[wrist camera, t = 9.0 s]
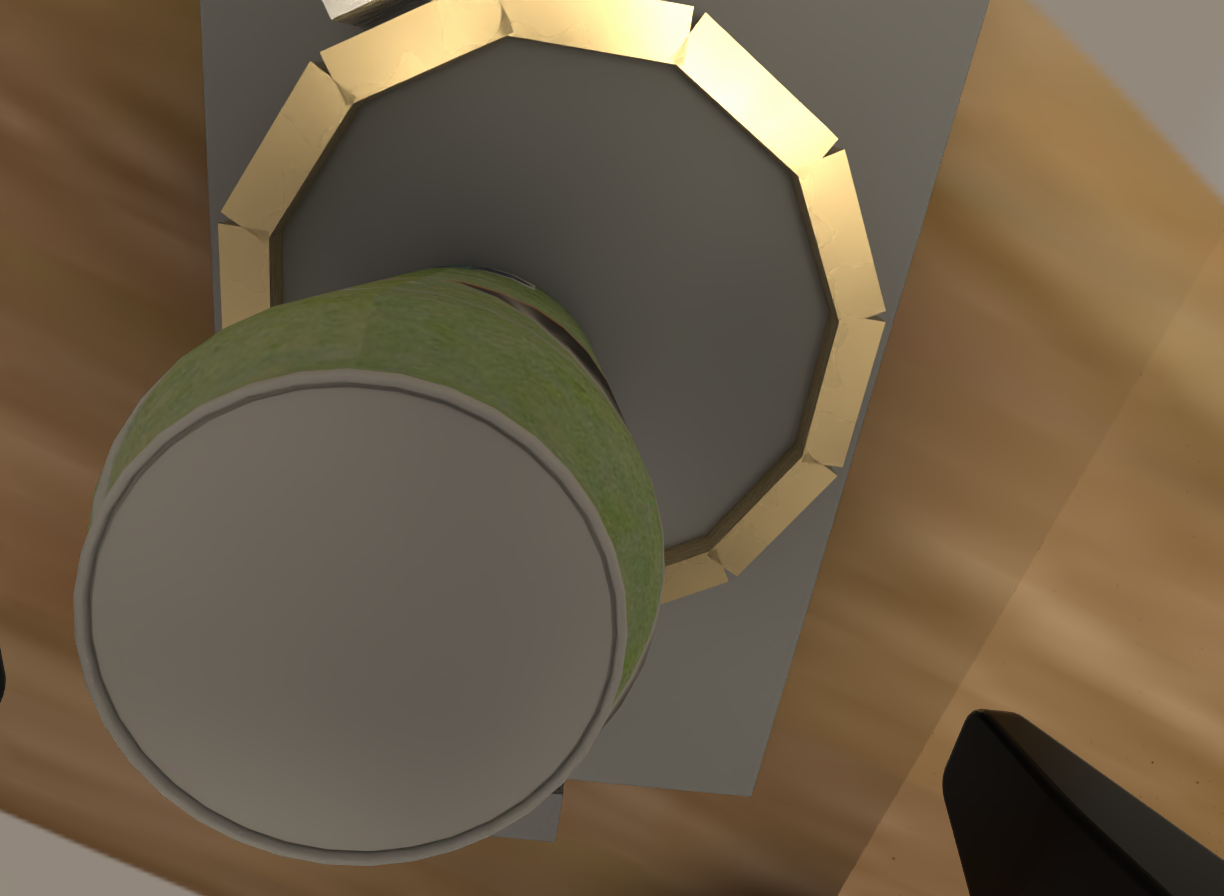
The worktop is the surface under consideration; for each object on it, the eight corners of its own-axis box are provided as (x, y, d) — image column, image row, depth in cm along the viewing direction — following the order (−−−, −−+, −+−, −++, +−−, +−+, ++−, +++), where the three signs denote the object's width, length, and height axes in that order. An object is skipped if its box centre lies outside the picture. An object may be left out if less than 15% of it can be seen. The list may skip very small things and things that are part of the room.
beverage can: (328, 478, 19) (-26, 969, 8) (363, 162, 17) (-96, 265, 6) (584, 528, 20) (572, 1044, 9) (658, 232, 17) (772, 448, 6)
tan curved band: (743, 764, 24) (765, 860, 21) (239, 715, 22) (187, 809, 19) (1018, -190, 14) (1127, -262, 12) (196, -360, 13) (86, -487, 10)
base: (745, 770, 25) (751, 796, 24) (247, 722, 24) (233, 747, 23) (1056, -300, 15) (1086, -326, 14) (204, -486, 13) (175, -529, 12)
